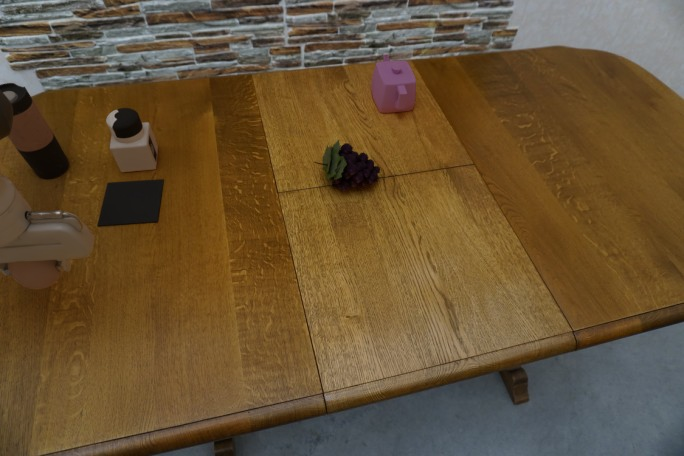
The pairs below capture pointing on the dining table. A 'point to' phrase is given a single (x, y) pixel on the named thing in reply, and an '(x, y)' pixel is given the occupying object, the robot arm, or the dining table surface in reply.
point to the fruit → (348, 167)
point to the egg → (34, 273)
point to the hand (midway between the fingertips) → (39, 269)
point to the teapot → (393, 86)
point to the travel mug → (34, 135)
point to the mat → (131, 202)
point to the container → (131, 141)
